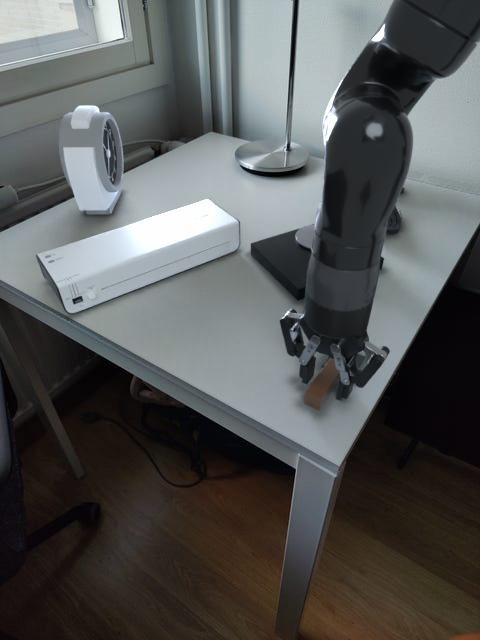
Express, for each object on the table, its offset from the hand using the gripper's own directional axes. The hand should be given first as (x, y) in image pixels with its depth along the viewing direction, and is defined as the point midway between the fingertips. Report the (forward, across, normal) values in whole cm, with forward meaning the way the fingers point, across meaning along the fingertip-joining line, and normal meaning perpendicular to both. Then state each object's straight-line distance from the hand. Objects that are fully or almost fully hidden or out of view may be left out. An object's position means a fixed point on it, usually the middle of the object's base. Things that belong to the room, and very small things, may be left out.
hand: (324, 387), depth 62 cm
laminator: (+1, +40, -8) cm, 41 cm away
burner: (-2, +17, -30) cm, 35 cm away
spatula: (+1, 0, -2) cm, 3 cm away
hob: (+1, +15, -26) cm, 30 cm away
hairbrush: (+1, +11, -51) cm, 52 cm away
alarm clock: (+1, +66, -21) cm, 69 cm away
